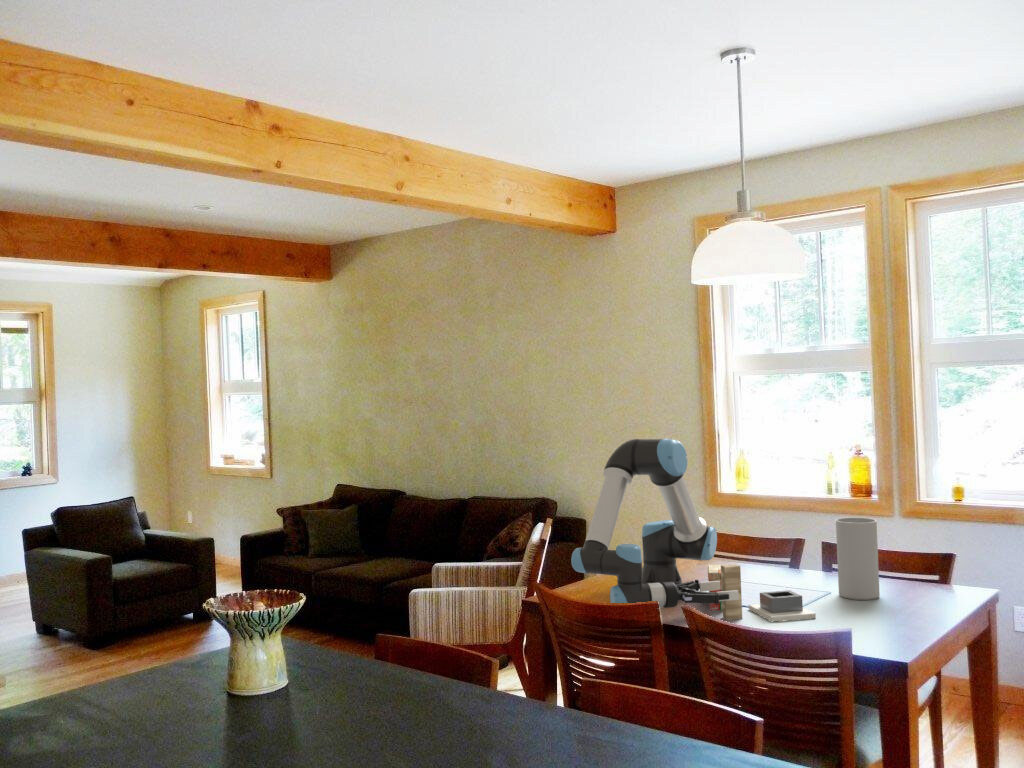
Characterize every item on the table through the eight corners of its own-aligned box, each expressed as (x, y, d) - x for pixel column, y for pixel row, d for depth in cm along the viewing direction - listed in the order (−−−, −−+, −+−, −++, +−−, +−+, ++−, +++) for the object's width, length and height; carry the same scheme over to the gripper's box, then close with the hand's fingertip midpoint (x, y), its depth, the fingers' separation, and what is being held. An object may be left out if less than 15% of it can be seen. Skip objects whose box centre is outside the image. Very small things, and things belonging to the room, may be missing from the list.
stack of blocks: (708, 595, 300) (707, 558, 300) (727, 595, 299) (726, 558, 299) (709, 610, 279) (708, 571, 279) (730, 611, 278) (728, 571, 278)
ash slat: (722, 617, 270) (720, 565, 270) (738, 616, 271) (736, 564, 271) (726, 619, 267) (724, 567, 267) (742, 618, 268) (740, 565, 268)
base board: (748, 609, 278) (748, 604, 278) (790, 606, 281) (789, 601, 281) (772, 622, 263) (772, 617, 263) (815, 618, 265) (815, 613, 265)
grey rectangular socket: (760, 607, 275) (759, 592, 275) (790, 604, 277) (789, 590, 277) (772, 613, 267) (771, 598, 267) (802, 610, 269) (802, 595, 269)
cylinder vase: (838, 599, 287) (835, 522, 287) (838, 591, 298) (835, 517, 299) (880, 601, 282) (877, 523, 283) (878, 592, 294) (875, 517, 294)
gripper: (649, 598, 277) (713, 593, 281) (676, 618, 253) (746, 612, 256) (648, 574, 277) (712, 569, 281) (675, 591, 253) (745, 586, 256)
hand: (728, 590), depth 269 cm, fingers open, 13 cm apart
